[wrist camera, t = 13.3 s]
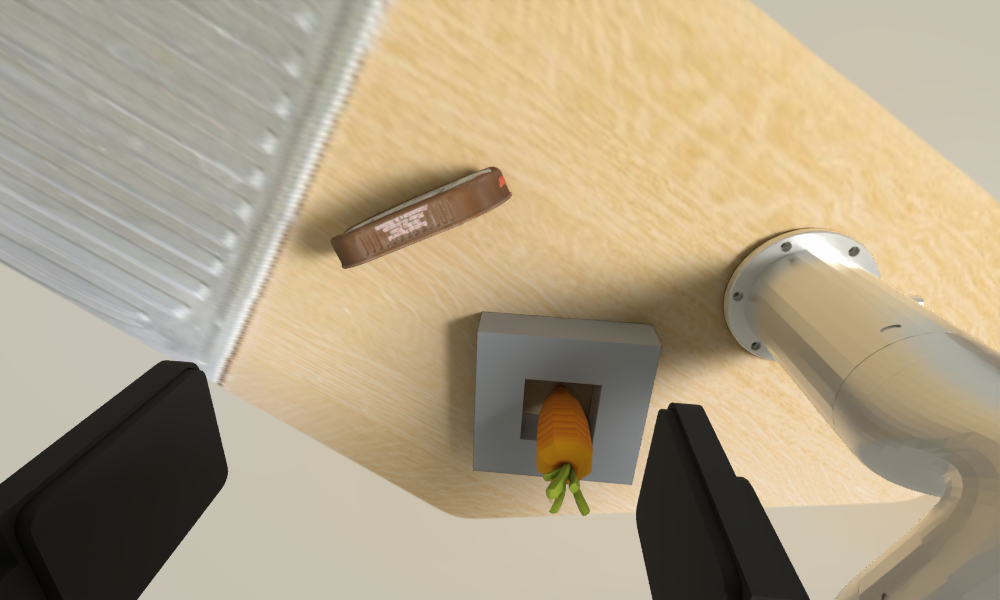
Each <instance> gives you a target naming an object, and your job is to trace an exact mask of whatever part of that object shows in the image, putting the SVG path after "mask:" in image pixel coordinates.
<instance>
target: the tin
mask: <svg viewBox="0 0 1000 600" xmlns="http://www.w3.org/2000/svg"><path fill="white" fill-rule="evenodd" d="M511 196H512V193H511V192H509V190H508V187H507V185H506V182H505V180H504V177H503V175H502V173H501V171H500V170H499V169H498V168H496V167H489V168H486V169H483V170H480V171H478V172H475V173H473V174H470V175H468V176H465V177H463V178H460V179H458V180H456V181H453V182H451V183H448V184H446V185H443V186H441V187H439V188H436V189H434V190H431V191H429V192H426V193H424V194H422V195H419V196H417V197H415V198H412V199H410V200H408V201H406V202H403V203H401V204H399V205H397V206H394V207H392V208H390V209H388V210H385V211H383V212H381V213H379V214H377V215H375V216H372V217H370V218H368V219H366V220H364V221H362V222H360V223H358V224H356V225H354V226H352V227H350V228H349V229H348V230H346V231H345V233H343V234H342V235H339V236H336V237H334V238H332V239H331V243H332V246H333V248H334V250H335V252H336V254H337V256H338V257H339V259H340V261H341V263H342V268H344V269H347V268H351V267H355V266H358V265H361V264H364V263H366V262H369V261H372V260H374V259H377V258H379V257H382V256H384V255H387V254H389V253H391V252H394V251H397V250H399V249H401V248H404V247H406V246H409V245H411V244H414V243H416V242H419V241H421V240H424V239H426V238H429V237H431V236H434V235H436V234H439V233H441V232H444V231H446V230H449V229H451V228H454V227H456V226H459V225H461V224H463V223H466V222H468V221H470V220H472V219H474V218H477V217H479V216H481V215H482V214H484V213H487V212H488V211H490V210H493V209H494V208H496V207H498V206H499V205H501V204H503V203H504V202H506V201H507V200H508V199H509V198H510V197H511Z"/></svg>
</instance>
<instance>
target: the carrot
mask: <svg viewBox="0 0 1000 600" xmlns="http://www.w3.org/2000/svg"><path fill="white" fill-rule="evenodd" d="M592 456H593V447H592V442H591V436H590V431H589V427H588V422H587V419H586V416H585V414H584V412H583V409H582V407H581V405H580V403H579V402H578V400H577V399H576V398H575V397H574V396H573V395H572V394H571V393H570V392H569V391H568V390H567V389H566V388H564V387H563V386H558V387H556V388H555V389H554V390H553V391H552V392H551V393H550V394H549V395H548V396H547V397H546V399H545V400H544V403H543V405H542V408H541V412H540V415H539V420H538V431H537V455H536V466H537V470H538V471H539V472H540V473H541V474H542V475H543V478H544V479H545V481H549V480H550V481H551V483H550V485H549V486H548V488H547V489H546V495H547V497H548V499H555V501H554V503H553V505H552V507H551V509H550V511H549V512H551V513H557V512H558V510H559V509H560V507H561V505H562V502H563V499H564V495H565V491H566V484H569V489H570V491H571V492H572V493H573V494H574V498H575V501H576V504H577V506H578V508H579V510H580V512H581V514H582V515H583V516H585V515H587V514H588V513H589V512H590V509H589V507H588V505H587V503H586V501H585V499H584V497H583V495H582V493H581V490H580V488H579V487H580V483H579V481H580V480H581V479H583V478H584V477H586V476H587V475H589V474H590V473H591V468H592Z"/></svg>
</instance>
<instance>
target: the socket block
mask: <svg viewBox="0 0 1000 600" xmlns="http://www.w3.org/2000/svg"><path fill="white" fill-rule="evenodd" d="M661 347H662V346H661V343H660V341H659V339H658V337H657V334H656V332H655V330H654V328H653V325H649V324H636V323H623V322H610V321H597V320H584V319H571V318H558V317H545V316H532V315H519V314H506V313H493V312H482V316H481V320H480V324H479V328H478V336H477V365H476V393H475V422H474V450H473V470H475V471H485V472H496V473H507V474H518V475H529V476H540V477H543V475H542V474H541V473H540V472H539V471H538V470H537V466H536V455H537V431H538V420H539V415H532V414H522V410H523V398H524V387H525V379H533V380H545V381H557V382H569V383H581V384H594V389H593V395H592V401H591V408H590V414H589V419H587V422H588V427H589V431H590V436H591V442H592V447H593V456H592V468H591V473H590V474H589V475H587V476H586V477H584V478H583V479H581V480H584V481H595V482H606V483H617V484H627V485H632V482H633V477H634V473H635V468H636V463H637V459H638V454H639V449H640V445H641V440H642V436H643V431H644V426H645V422H646V417H647V412H648V408H649V403H650V398H651V394H652V389H653V384H654V380H655V375H656V370H657V366H658V361H659V357H660V352H661Z"/></svg>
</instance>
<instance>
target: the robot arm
mask: <svg viewBox="0 0 1000 600" xmlns="http://www.w3.org/2000/svg"><path fill="white" fill-rule="evenodd" d="M783 243H784V245H782V244H783ZM781 245H782V246H781ZM736 292H737V293H736ZM735 293H736V294H735ZM724 315H725V320H726V323H727V325H728V328H729V330H730V331H731V333H732V334H733V336H734V337H735V339H736V340H737V341H738V342H739V343H740V345H741V346H742V347H744V348H745V349H746V350H747V351H749V352H750V353H752V354H754V355H756V356H758V357H760V358H763V359H767V360H771V361H775V362H778V363H779V364H780V365H781V366H782V368H783V369H784V370H785V371H786V373H787V374H788V375H789V376H790V378H791V379H792V380H793V381H794V382H795V384H796V385H797V386H798V387H799V389H800V390H801V391H802V392H803V393H804V395H805V396H806V397H807V398H808V400H809V401H810V402H811V403H812V404H813V406H814V407H815V408H816V409H817V411H818V412H819V413H820V414H821V415H822V417H823V418H824V419H825V420H826V422H827V423H828V424H829V425H830V426H831V428H832V429H833V430H834V431H835V433H836V434H837V435H838V436H839V437H840V439H841V440H842V441H843V443H844V444H845V445H846V446H847V447H848V449H849V450H850V451H851V452H852V453H853V454H854V456H855V457H856V458H857V459H858V460H859V461H860V462H861V463H862V464H864V465H865V466H866V467H868V468H869V469H870V470H871V471H873V472H874V473H876V474H877V475H879V476H881V477H883V478H884V479H886V480H888V481H890V482H892V483H894V484H897V485H900V486H902V487H905V488H908V489H911V490H914V491H917V492H921V493H925V494H929V495H933V496H937V497H941V500H940V501H939V502H938V503H937V504H936V505H935V506H934V507H933V508H932V509H931V510H930V511H929V512H928V513H927V514H926V515H924V516H923V517H922V518H921V519H920V520H919V522H918V524H917V525H916V526H915V527H914V528H912V529H911V530H910V531H909V532H908V533H907V534H905V535H904V536H903V537H902V538H900V539H899V540H898V541H897V542H896V543H895V544H894V545H892V546H891V547H890V548H889V549H888V550H886V551H885V552H884V553H883V554H882V555H881V556H879V557H878V558H877V559H876V560H875V561H873V562H872V563H871V564H870V565H869V566H868V567H866V568H865V569H864V570H863V571H862V572H860V573H859V574H858V575H857V576H856V577H855V578H854V579H853V580H851V581H850V582H849V584H847V585H846V586H845V587H844V588H843V589H842V590H841V591H840V593H839V594H838V595H837V597H836V598H835V600H1000V352H999V351H997V350H996V349H994V348H992V347H991V346H989V345H987V344H986V343H984V342H982V341H981V340H979V339H978V338H976V337H974V336H973V335H971V334H969V333H968V332H966V331H964V330H963V329H961V328H960V327H958V326H956V325H955V324H953V323H951V322H950V321H948V320H946V319H945V318H943V317H942V316H940V315H938V314H937V313H935V312H933V311H932V310H930V309H928V308H927V307H925V306H924V301H923V298H922V297H921V296H919V295H907V294H904V293H902V292H901V291H899V290H897V289H896V288H894V287H893V286H891V285H889V284H888V283H886V282H884V281H883V280H881V276H880V272H879V268H878V265H877V263H876V261H875V259H874V257H873V255H872V254H871V253H870V252H869V251H868V250H867V249H866V247H865V246H864V245H862V244H861V243H859V242H858V241H856V240H855V239H853V238H851V237H849V236H847V235H845V234H843V233H840V232H837V231H833V230H829V229H819V228H809V229H800V230H795V231H791V232H788V233H784V234H781V235H779V236H777V237H775V238H773V239H770V240H768V241H767V242H765V243H764V244H762V245H761V246H759V247H758V248H756V249H755V250H754V251H753V252H751V253H750V254H749V255H748V256H747V257H746V258H745V259H744V260H743V261H742V262H741V264H740V265H739V266H738V267H737V269H736V270H735V272H734V273H733V275H732V277H731V279H730V281H729V283H728V286H727V289H726V292H725V297H724ZM227 475H228V467H227V463H226V459H225V454H224V450H223V446H222V442H221V437H220V433H219V429H218V425H217V420H216V416H215V412H214V408H213V404H212V399H211V395H210V391H209V387H208V382H207V378H206V375H205V373H204V372H203V371H201V370H199V368H198V366H197V365H196V364H194V363H192V362H181V361H169V360H165V361H161V362H160V363H158V364H156V365H155V366H154V367H152V368H151V369H150V370H148V371H147V372H146V373H144V374H143V375H142V376H141V377H139V378H138V379H137V380H135V381H134V382H133V383H131V384H130V385H129V386H127V387H126V388H125V389H124V390H122V391H121V392H120V393H119V394H117V395H116V396H114V397H113V398H112V399H110V400H109V401H108V402H107V403H105V404H104V405H103V406H101V407H100V408H99V409H97V410H96V411H95V412H94V413H92V414H91V415H90V416H88V417H87V418H86V419H84V420H83V421H82V422H81V423H79V424H78V425H77V426H75V427H74V428H73V429H71V430H70V431H69V432H67V433H66V434H65V435H64V436H62V437H61V438H60V439H58V440H57V441H56V442H54V443H53V444H52V445H50V446H49V447H48V448H46V449H45V450H44V451H43V452H41V453H40V454H39V455H37V456H36V457H35V458H33V459H32V460H31V461H29V462H28V463H27V464H26V465H24V466H23V467H22V468H20V469H19V470H18V471H16V472H15V473H14V474H13V475H11V476H10V477H9V478H7V479H6V480H5V481H4V482H2V483H1V484H0V600H137V599H138V598H139V597H140V595H141V594H142V593H143V591H144V590H145V589H146V587H147V586H148V585H149V583H150V582H151V581H152V579H153V578H154V577H155V575H156V574H157V573H158V572H159V570H160V569H161V568H162V566H163V565H164V563H165V562H166V561H167V560H168V558H169V557H170V556H171V554H172V553H173V552H174V551H175V549H176V548H177V546H178V545H179V544H180V543H181V541H182V540H183V539H184V537H185V536H186V535H187V533H188V532H189V531H190V530H191V528H192V527H193V526H194V524H195V523H196V522H197V520H198V519H199V518H200V516H201V515H202V514H203V512H204V511H205V510H206V508H207V507H208V506H209V505H210V503H211V502H212V501H213V499H214V498H215V497H216V495H217V494H218V493H219V491H220V490H221V489H222V487H223V486H224V484H225V482H226V479H227ZM636 521H637V529H638V533H639V538H640V542H641V547H642V552H643V557H644V561H645V566H646V571H647V576H648V580H649V585H650V590H651V594H652V599H653V600H810V599H809V597H808V595H807V593H806V591H805V589H804V587H803V585H802V583H801V581H800V579H799V577H798V575H797V573H796V571H795V569H794V567H793V565H792V563H791V562H790V559H789V557H788V556H787V554H786V552H785V550H784V548H783V546H782V544H781V542H780V540H779V538H778V536H777V534H776V532H775V530H774V528H773V526H772V524H771V522H770V520H769V518H768V516H767V515H766V513H765V511H764V509H763V507H762V505H761V503H760V501H759V499H758V497H757V495H756V493H755V491H754V489H753V487H752V486H751V484H750V483H749V481H748V480H747V479H745V478H744V477H736V475H735V473H734V471H733V469H732V467H731V465H730V462H729V460H728V458H727V456H726V454H725V452H724V450H723V448H722V446H721V444H720V442H719V440H718V438H717V436H716V434H715V431H714V429H713V427H712V425H711V423H710V421H709V419H708V417H707V415H706V413H705V411H704V409H703V407H702V406H700V405H694V404H682V403H670V405H669V406H668V409H667V410H666V409H660V410H659V412H658V415H657V419H656V424H655V428H654V433H653V437H652V442H651V446H650V450H649V455H648V459H647V464H646V468H645V473H644V477H643V481H642V486H641V490H640V495H639V499H638V504H637V509H636Z"/></svg>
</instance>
